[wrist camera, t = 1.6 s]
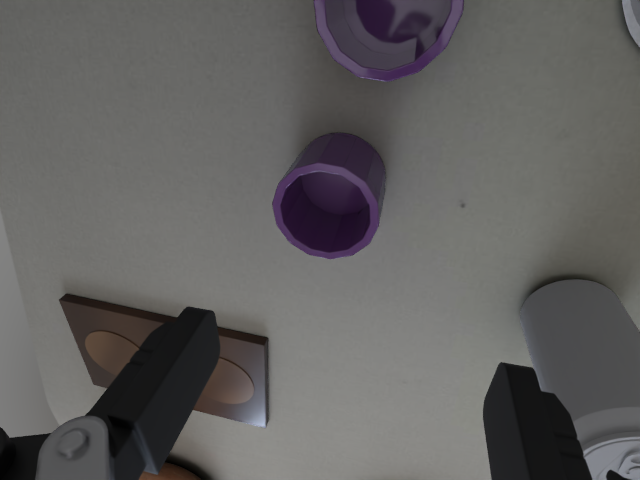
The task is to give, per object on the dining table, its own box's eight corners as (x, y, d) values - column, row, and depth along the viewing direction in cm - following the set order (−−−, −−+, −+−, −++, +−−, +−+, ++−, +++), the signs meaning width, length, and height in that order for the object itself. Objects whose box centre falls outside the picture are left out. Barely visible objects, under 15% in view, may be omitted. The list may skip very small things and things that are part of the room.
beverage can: (513, 336, 31) (555, 497, 21) (522, 271, 28) (577, 427, 18) (605, 340, 30) (697, 517, 20) (627, 272, 26) (749, 444, 16)
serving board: (98, 378, 49) (92, 385, 48) (65, 293, 41) (57, 300, 40) (268, 420, 46) (265, 429, 45) (267, 337, 38) (264, 346, 37)
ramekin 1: (283, 146, 27) (255, 179, 22) (372, 120, 25) (361, 150, 20) (313, 223, 30) (295, 265, 25) (396, 206, 27) (392, 249, 23)
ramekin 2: (319, -44, 21) (291, -51, 16) (443, -102, 18) (451, -129, 14) (354, 76, 23) (338, 98, 19) (465, 38, 21) (477, 53, 17)
